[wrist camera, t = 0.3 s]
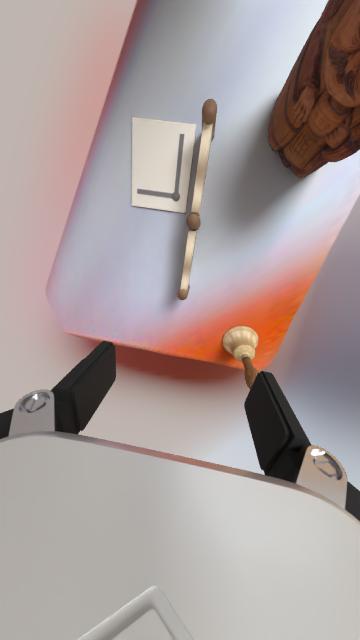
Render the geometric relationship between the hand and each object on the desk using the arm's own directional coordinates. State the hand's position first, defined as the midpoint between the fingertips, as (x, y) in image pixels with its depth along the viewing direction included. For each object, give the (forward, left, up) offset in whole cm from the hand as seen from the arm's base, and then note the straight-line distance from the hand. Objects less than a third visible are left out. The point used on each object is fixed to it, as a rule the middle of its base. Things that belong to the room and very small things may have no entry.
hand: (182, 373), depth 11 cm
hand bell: (+13, +13, -28) cm, 34 cm away
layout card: (-17, -9, -28) cm, 34 cm away
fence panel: (-3, -2, -28) cm, 28 cm away
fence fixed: (-16, -2, -28) cm, 32 cm away
